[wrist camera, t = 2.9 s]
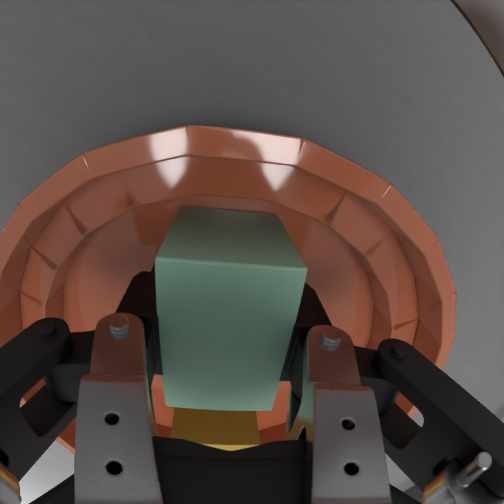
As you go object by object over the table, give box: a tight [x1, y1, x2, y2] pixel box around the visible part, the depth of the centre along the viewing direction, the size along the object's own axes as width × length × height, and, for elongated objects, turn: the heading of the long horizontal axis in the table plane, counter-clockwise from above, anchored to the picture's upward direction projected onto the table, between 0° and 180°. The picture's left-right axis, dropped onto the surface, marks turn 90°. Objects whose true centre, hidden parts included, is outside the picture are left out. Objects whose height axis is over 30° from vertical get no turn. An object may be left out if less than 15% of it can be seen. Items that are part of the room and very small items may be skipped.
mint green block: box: [155, 206, 308, 411], centre depth 10 cm, size 6×4×4 cm, turn 173°
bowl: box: [0, 125, 456, 454], centre depth 12 cm, size 19×19×4 cm
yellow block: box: [171, 407, 261, 451], centre depth 13 cm, size 6×4×4 cm, turn 173°
